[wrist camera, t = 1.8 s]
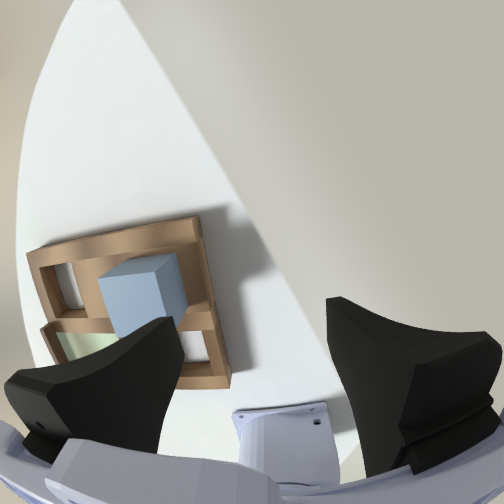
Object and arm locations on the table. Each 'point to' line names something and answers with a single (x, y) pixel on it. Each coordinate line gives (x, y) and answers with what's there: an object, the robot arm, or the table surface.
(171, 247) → the brown compartment tray
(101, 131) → the table surface
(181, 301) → the slate block
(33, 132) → the table surface
